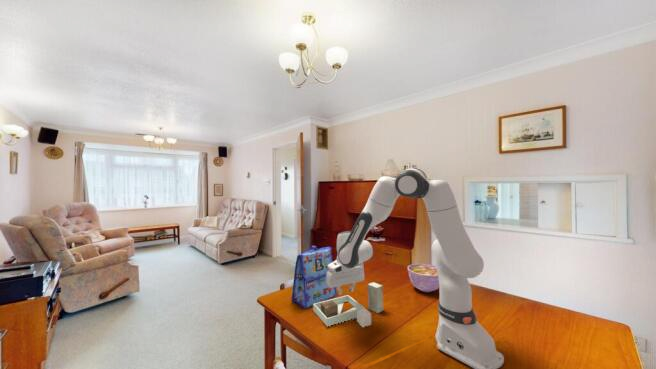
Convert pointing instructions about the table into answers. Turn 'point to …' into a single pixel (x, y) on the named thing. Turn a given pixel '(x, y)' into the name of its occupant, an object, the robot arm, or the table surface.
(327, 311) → the walnut block
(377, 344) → the table surface
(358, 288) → the table surface
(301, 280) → the lunch bag
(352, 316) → the tray
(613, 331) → the table surface
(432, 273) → the bowl of food
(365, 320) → the cream cube
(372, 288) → the skincare box
